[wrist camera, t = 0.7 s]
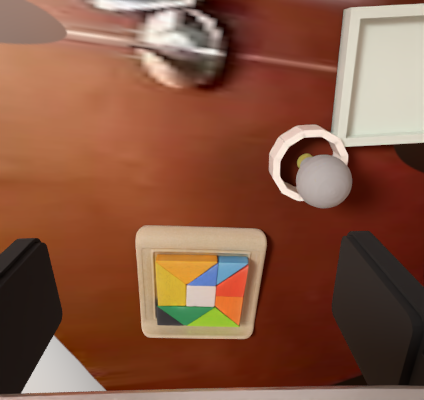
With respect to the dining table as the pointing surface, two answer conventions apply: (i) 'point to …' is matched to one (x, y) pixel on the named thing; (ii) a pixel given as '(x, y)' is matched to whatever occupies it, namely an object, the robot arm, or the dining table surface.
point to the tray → (380, 76)
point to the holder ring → (293, 137)
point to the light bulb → (323, 180)
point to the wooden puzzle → (199, 280)
